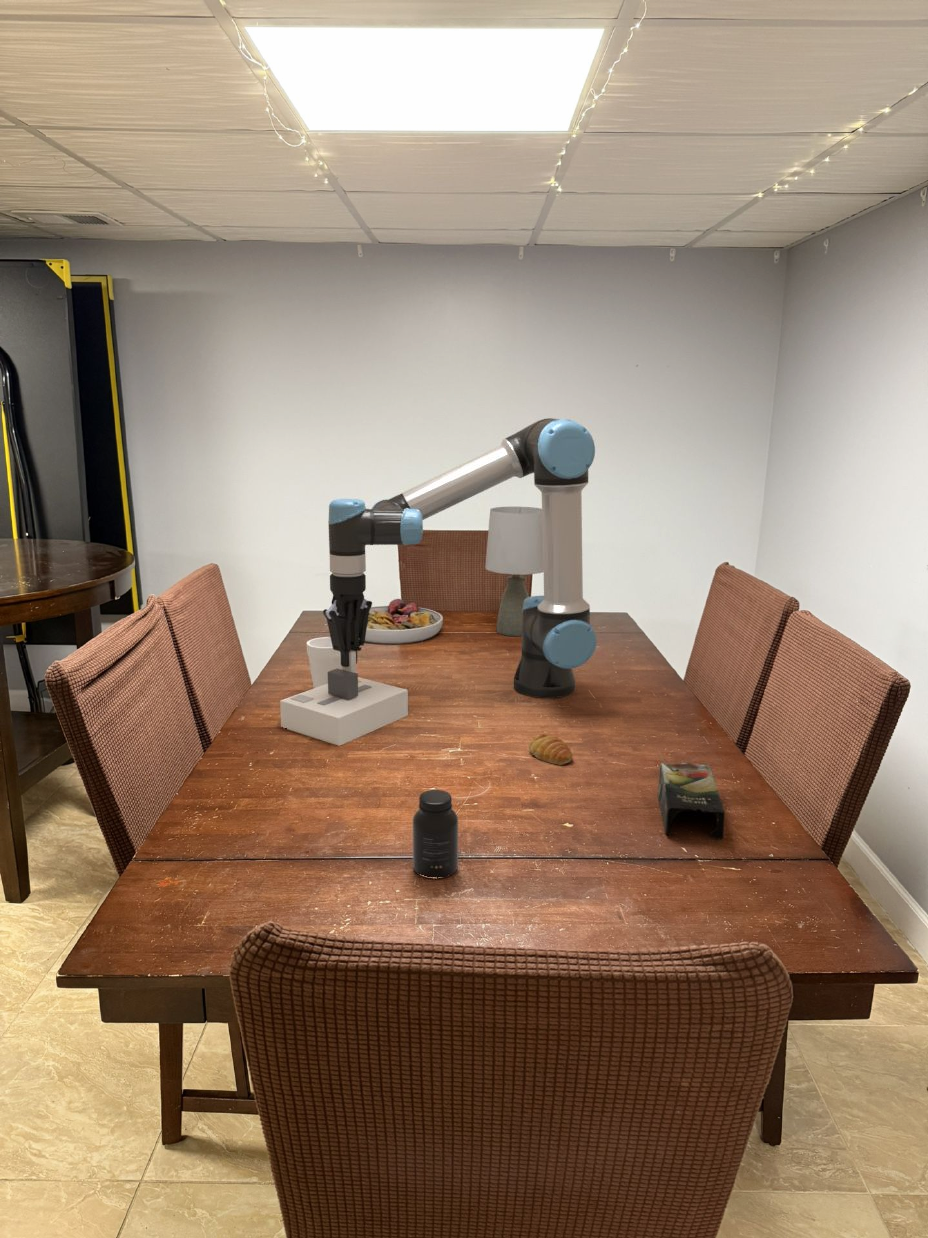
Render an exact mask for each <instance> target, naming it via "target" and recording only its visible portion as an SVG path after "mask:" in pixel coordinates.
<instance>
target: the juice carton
mask: <svg viewBox="0 0 928 1238" xmlns="http://www.w3.org/2000/svg"><path fill="white" fill-rule="evenodd" d="M715 779H716V777H715V776H714V773H713V772H712V767H711V766H709V765H704V764H693V763H692V762H681V763H675V762H674V763H673V762H672V763H670V762H669V763H666V762H660V764H659V771H658V785H657V789H658V790H657V798H658V802H659V803H658V804H659V807H660V809H659V810H660V814H661V819H662V820H661V821H662V824H663V825H662V826H663V829H664V832H663V833H664V836H665V835H666V836H668V835H669V831H670V829H671V826H672V824H673V823H672V822H673V820H674V818H675V817H676V815H678V814H679V813H681V812H688V811H694V812H696V811H698V810H700V811H701V812H702V813H703V814H705V813H713V814H714V816H715V815H716V817H715V820H716V819H718V820H717V821H716V822H717V824H716V828H715V829H714V830H713V831H711V833H710V834H709V838H710V837H711V838H713V837H715V838H714V839H717V838H720V839H719V840H722V838H724V836H725V835H724V831H725V814H726V812H725V810H724V809H725V808H724V806H723V801H722V799H721V796H720V793H719V789H718V788H717V787H718V786H717V784H716V783H717V781H716V780H715ZM717 825H718V826H717ZM666 836H665V837H666Z"/></svg>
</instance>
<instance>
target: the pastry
mask: <svg viewBox="0 0 928 1238" xmlns="http://www.w3.org/2000/svg"><path fill="white" fill-rule="evenodd" d="M528 749H529V751H530V753H531V755H532V756H535V758H536V759H539V760H541V761H543V762H546V763H549V764H552V765H558V766H561V765H565V764H569V763H570V762H571V761H572V759H573V753H572V751H571V748H569V747H568V745H567V744H566V743H565V742H564V741H563V740H562V739H561V738H558V737H557V736H555V735H552V736H551V735H549V734H548V733H539V734H537V735H536V736H534V737H533V738H532V740H531V741H530V743H529V745H528Z"/></svg>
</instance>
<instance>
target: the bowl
mask: <svg viewBox="0 0 928 1238" xmlns="http://www.w3.org/2000/svg"><path fill="white" fill-rule="evenodd" d="M443 622H444V617H443V615H442V614H441V613H440V612H437V611H435V610H432V609H429V608H424V607H419V606H418V604H417V603H415V602H411V603H408V604H406V603H405V601H404V600H403V599H401V598H396V599H395V598H394V599H393V600H391V601H390V602H389V604H388V605H379V606H371V609H370V611H369V616H368V623H367V629H366V636H365V643H366V642H367V643H373V644H380V645H381V644H382V645H383V644H384V645H397V644H398V645H399V644H401V645H402V644H411V643H416V642H421V641H425V640H427V639H430V638H432V637H434V636H436V635H437V634H438V633H439V632H440V630H441V629H442V627H443ZM359 639H360V638H359Z"/></svg>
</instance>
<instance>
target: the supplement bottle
mask: <svg viewBox="0 0 928 1238" xmlns="http://www.w3.org/2000/svg"><path fill="white" fill-rule="evenodd" d="M418 799H419V800H418V802H419V803H418V810H417V811H416V812H415V813H414V815H413V817H412V864H413V865H412V867H413V869H414V871H416V872H417V873H418V874H421V875H424V876H427V877H437V878H438V877H446V876H448V875H451V874H452V875H454V874H453V873H454V872H455V873H456V871H457V870H458V866H459V817H458V815H457V813H456V812H455V811H454V810H453V804H452V803H453V802H452V795H451V794H450V793H449V792H448V791H446V790H442V789H429V790H426V791H424V792H422V793H421V794H420V795H419V798H418ZM416 872H415V873H416ZM417 873H416V874H417ZM418 874H417V875H418ZM452 875H451V876H452Z"/></svg>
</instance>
